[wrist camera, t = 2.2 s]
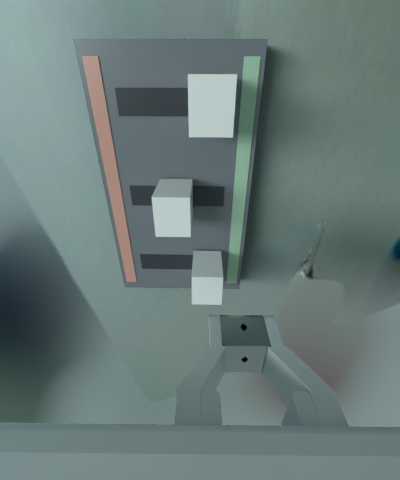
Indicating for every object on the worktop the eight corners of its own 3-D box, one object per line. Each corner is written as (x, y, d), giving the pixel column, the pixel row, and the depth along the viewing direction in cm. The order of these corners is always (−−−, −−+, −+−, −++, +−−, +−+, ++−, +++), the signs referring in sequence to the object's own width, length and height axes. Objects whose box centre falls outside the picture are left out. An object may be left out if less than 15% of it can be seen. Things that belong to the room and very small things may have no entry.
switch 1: (230, 75, 19) (237, 74, 15) (228, 127, 21) (232, 137, 17) (191, 75, 19) (187, 74, 15) (191, 127, 21) (188, 137, 17)
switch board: (261, 43, 20) (268, 38, 18) (236, 275, 33) (239, 289, 31) (87, 43, 20) (72, 38, 18) (130, 274, 33) (124, 287, 31)
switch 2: (220, 250, 27) (223, 277, 24) (219, 276, 29) (221, 304, 26) (193, 250, 28) (191, 276, 24) (193, 275, 29) (192, 304, 26)
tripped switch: (192, 179, 23) (190, 197, 20) (192, 214, 25) (190, 237, 21) (159, 178, 23) (151, 197, 20) (163, 213, 25) (155, 236, 22)
